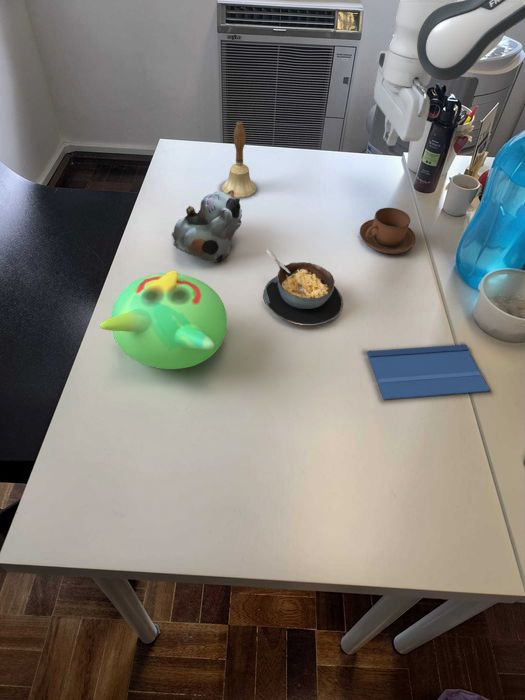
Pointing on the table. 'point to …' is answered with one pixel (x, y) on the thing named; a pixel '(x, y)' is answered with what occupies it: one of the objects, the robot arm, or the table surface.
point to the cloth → (426, 372)
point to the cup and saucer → (388, 231)
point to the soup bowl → (303, 293)
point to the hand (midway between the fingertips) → (389, 142)
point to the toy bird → (168, 321)
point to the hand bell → (239, 169)
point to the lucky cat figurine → (209, 227)
